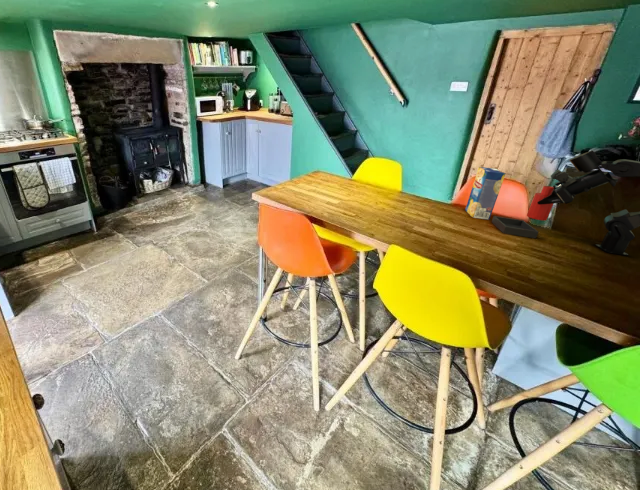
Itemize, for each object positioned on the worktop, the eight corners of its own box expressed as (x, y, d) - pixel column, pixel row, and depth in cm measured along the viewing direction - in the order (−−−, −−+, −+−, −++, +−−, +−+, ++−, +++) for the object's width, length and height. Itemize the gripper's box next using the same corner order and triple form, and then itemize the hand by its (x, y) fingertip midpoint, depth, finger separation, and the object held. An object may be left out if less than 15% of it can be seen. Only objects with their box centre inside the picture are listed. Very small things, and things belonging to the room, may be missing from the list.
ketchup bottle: (550, 221, 123) (563, 190, 119) (531, 219, 125) (544, 187, 120) (540, 216, 129) (553, 185, 124) (523, 213, 131) (535, 184, 126)
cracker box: (480, 212, 149) (495, 168, 141) (489, 219, 139) (505, 173, 131) (465, 209, 151) (478, 166, 143) (472, 217, 141) (487, 171, 133)
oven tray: (535, 238, 121) (538, 231, 120) (503, 233, 125) (505, 226, 124) (520, 226, 133) (523, 220, 132) (491, 222, 136) (493, 215, 135)
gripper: (571, 162, 123) (526, 182, 134) (573, 167, 110) (524, 189, 121) (590, 184, 120) (543, 203, 131) (595, 193, 108) (542, 213, 118)
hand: (538, 201), depth 125 cm, fingers closed on ketchup bottle, 6 cm apart
